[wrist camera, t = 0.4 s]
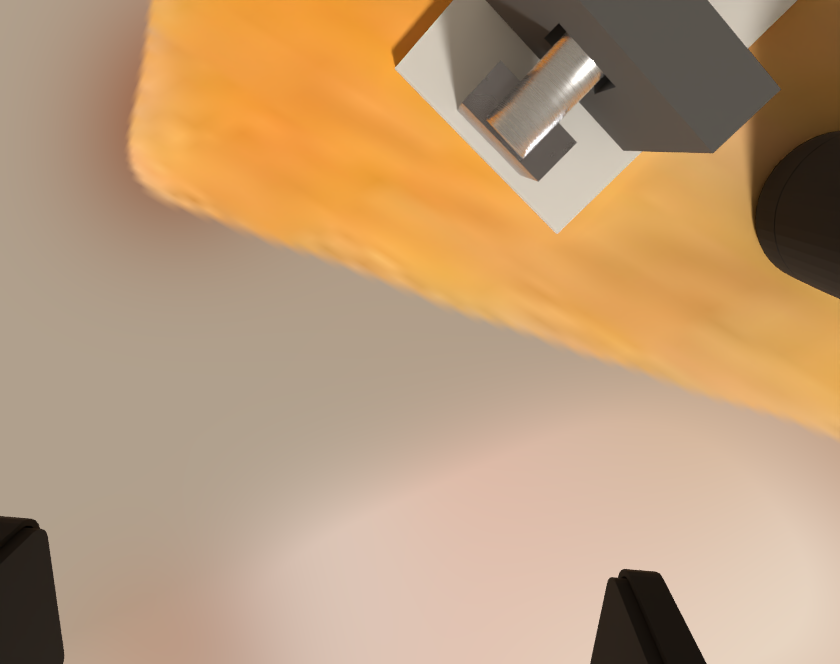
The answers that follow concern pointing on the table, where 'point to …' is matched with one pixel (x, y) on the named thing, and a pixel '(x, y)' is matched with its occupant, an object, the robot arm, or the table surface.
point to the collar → (653, 68)
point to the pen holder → (804, 214)
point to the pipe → (532, 107)
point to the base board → (495, 40)
